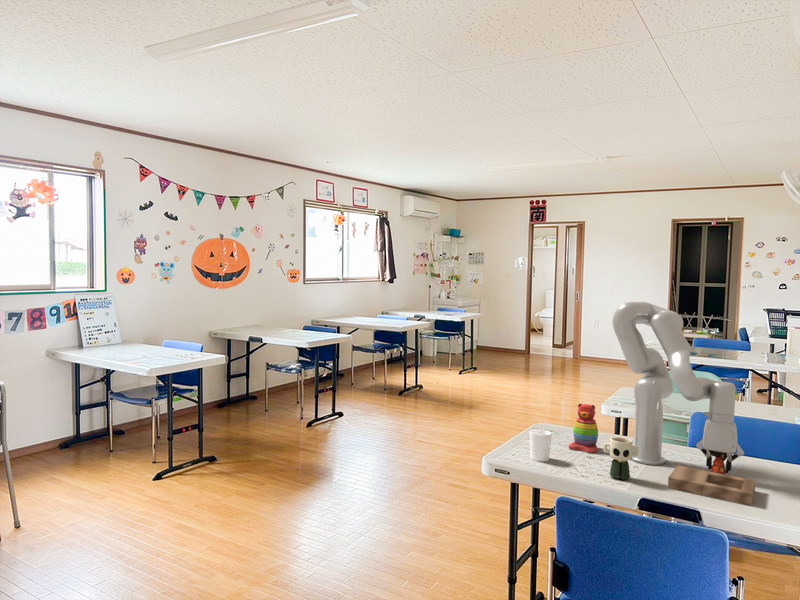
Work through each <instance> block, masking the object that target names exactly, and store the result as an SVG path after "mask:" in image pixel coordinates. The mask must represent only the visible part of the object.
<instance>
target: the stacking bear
mask: <svg viewBox="0 0 800 600" xmlns="http://www.w3.org/2000/svg"><path fill="white" fill-rule="evenodd" d="M577 415H578V417H577V418H576V421H575V422H574V426H573V433H572V434H573V439H574V441H573V442H571V443H569V445H568V449H569V450H572V451H578V452H583V453H584V452H585V453H587V454H590V455H591V454H593V455H595V454H597V453H598V451H599V449H598V448H599V447H598V446H597V442H598V439H599V438H598V437H599V429H598V424H597V421H596V420H595V416H596V406H595V405H594V404H585V403H584V404H583V403H578V405H577Z"/></svg>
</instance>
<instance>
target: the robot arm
mask: <svg viewBox="0 0 800 600" xmlns="http://www.w3.org/2000/svg"><path fill="white" fill-rule="evenodd" d="M640 324H641V325H646V326H648V327H651V329H652V331H653V332H654V335H655V337H656V338H657V340H658V342H659V344H660V345H661V348H662V350H663V351H664V354H665V355H666V358H667V364H668V368H669V370H668V368H667V365H666V363H665V360H664V358H663V356H662V355H661V353H660V352H659V351H658V350H657V349H654V348H652V347H647V345H646V343H645V341H644V338H643V336H642V334H641V332H640V331H639V330H638V328H637V325H640ZM612 327H613V331H614V334H615V336H616V338H617V340H618V343H619V345H620V348H621V351H622V353H623V355H624V359H625V361H626V363H627V366H628V368H629V369H630V371H631V372H632V373H634V374H642V376H643V377H641V378H640V379H638V380H637V381H636V383H635V384H634V389H633V392H634V399H635V400H634V402H635V410H634V411H635V412H634V413H635V414H634V415H635V417H634V418H635V419H634V434H633V435H634V436H633V437H634V438H633V439H634V440H633V444H632V446H636V447H638V456H632V458H631V461H633V462H636V463H640V464H644V465H650V466H660V465H664V464H666V463H667V462H666V460H667V459H666V458H665V457H663V456H662V446H663V425H664V424H663V423H664V408H663V402H662V401H663V400H664V399H667V398H669V397H670V396H671V395H672V394H673V391H674V385H675V386H676V388H677V390H678V391H679V393H680V394H681V396H682V397H683V398H684V399H686V400H687V401H689V402H698V401H702V400H709V406H708V411H707V412H705V411H704V412H703V416H704V417H707V418H708V419H706V420H705V424H704V428H703V434H702V435H703V436H702V438H701V440H700V441H699V442H697V443H696V445H695V447H696V448H697V449H698V450H699V451H701V453H702V454H703V455H704V456H705V457H706V462H705V463H706V464H705V465H706V467H707V468H708V469H707V471H712V470H711V466H712V465H713V456H712V455H711V454H710V452H709V450H711V451H717V452H722V453H727V459H726V460H725V461H726V462H725V463H726V464H725V470H726V474H729V472H730V471H732V464H733V463H732V462H733V461H734V460H736V459H738V458H740V457H742V456H744V455H745V452H744V450H743V449H742V447H741V446H740V444H739V443H738V431H737V430H738V428H737V423H736V422H735V407H736V406H735V404H736V391H737V390H736V385H735V384H734V383H733V382H728V381H721V380H718V381H717V380H713V379H710V378H706V377H697V376H696V374H695V373H694V370H693V368H692V366H691V362H690V357H691V353H692V352H691V351H692V347H691V345H690V344H689V342H688V340H687V339H686V336H685V335H684V333H683V331H682V329H683V327H684V320H683V318H682V316H681V314H679V313H678V312H675V311H673V310H670V309H666V308H664V307H661V306H658V305H656V304H653V303H649V302H645V301H629V302H624V303H623V304H621V305H619V306H618V308H617V309H616V310H615V312H614V314H613V318H612ZM673 382H674V383H673ZM632 453H635V449H632Z"/></svg>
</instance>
